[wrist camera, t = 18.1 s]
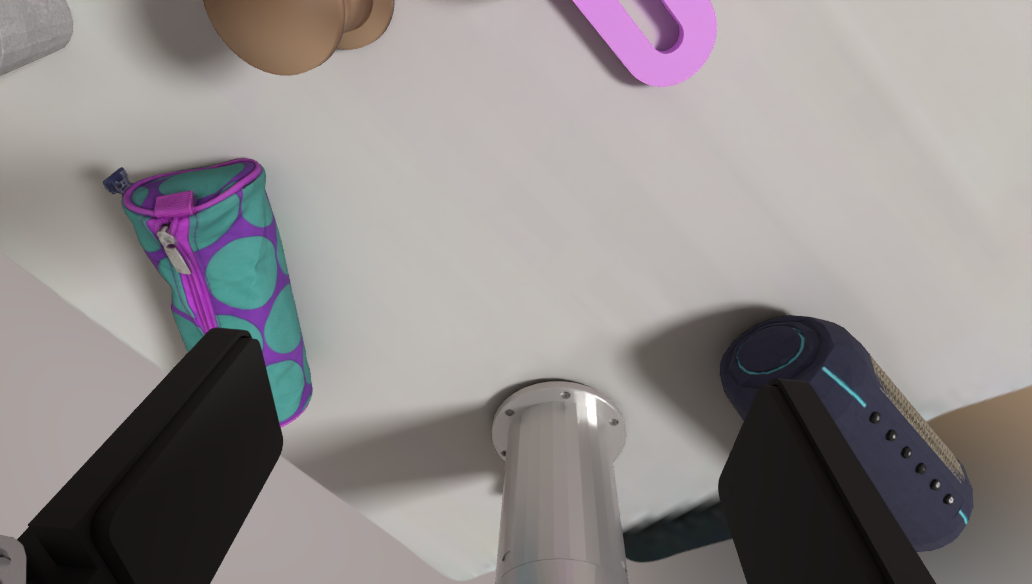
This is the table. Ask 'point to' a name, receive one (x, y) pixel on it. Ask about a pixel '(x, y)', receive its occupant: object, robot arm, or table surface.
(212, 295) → the pencil case
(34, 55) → the house plant
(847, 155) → the table surface
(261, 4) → the bobbin
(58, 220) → the table surface
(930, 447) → the portable speaker
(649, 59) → the bracket
